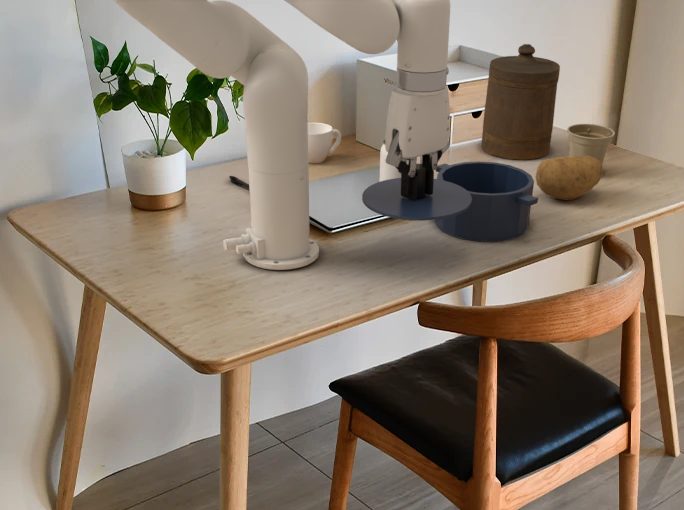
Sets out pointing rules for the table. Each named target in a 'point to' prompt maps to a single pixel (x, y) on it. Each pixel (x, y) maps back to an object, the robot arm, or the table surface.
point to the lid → (426, 207)
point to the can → (387, 166)
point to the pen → (238, 182)
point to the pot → (489, 201)
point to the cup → (321, 141)
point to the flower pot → (589, 140)
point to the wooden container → (520, 105)
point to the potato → (568, 176)
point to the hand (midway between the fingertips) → (416, 194)
